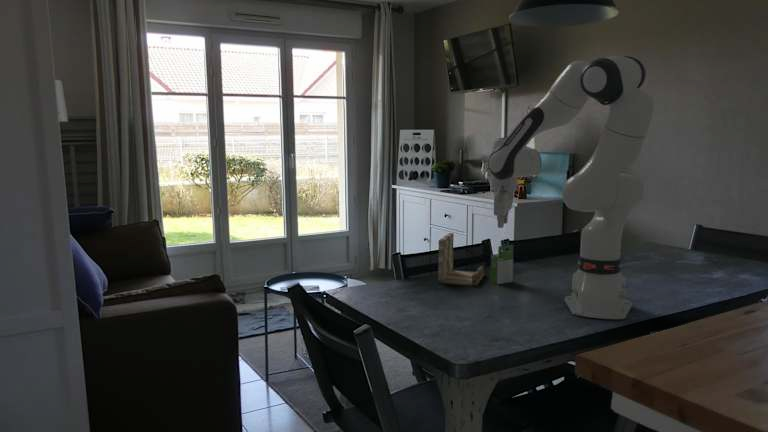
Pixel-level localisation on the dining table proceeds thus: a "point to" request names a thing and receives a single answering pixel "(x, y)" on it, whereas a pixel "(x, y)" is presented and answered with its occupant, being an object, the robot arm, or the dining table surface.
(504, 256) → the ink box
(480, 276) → the board
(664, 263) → the dining table surface
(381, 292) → the dining table surface
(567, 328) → the dining table surface
